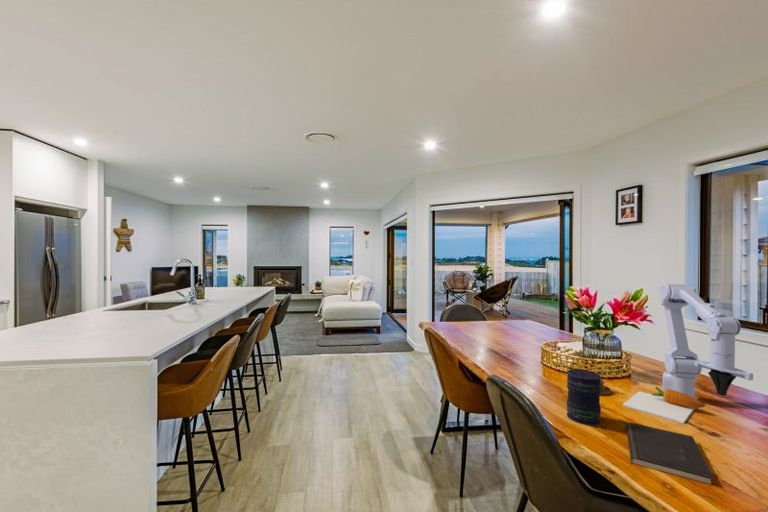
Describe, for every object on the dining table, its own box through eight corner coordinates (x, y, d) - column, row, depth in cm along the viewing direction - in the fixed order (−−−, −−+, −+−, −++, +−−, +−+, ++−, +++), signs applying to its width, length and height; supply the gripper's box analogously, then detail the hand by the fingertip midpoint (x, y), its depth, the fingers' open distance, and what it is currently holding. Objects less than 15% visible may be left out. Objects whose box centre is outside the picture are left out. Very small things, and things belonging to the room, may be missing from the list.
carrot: (707, 399, 122) (655, 385, 134) (704, 397, 120) (651, 383, 132) (705, 414, 121) (653, 398, 133) (702, 412, 119) (649, 396, 131)
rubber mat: (622, 405, 126) (622, 404, 126) (639, 392, 139) (639, 391, 139) (683, 423, 113) (683, 422, 113) (695, 407, 126) (695, 405, 126)
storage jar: (600, 416, 118) (601, 363, 118) (601, 428, 109) (601, 371, 109) (567, 409, 123) (567, 358, 123) (565, 420, 114) (566, 366, 114)
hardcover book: (692, 444, 102) (692, 436, 102) (713, 487, 82) (713, 478, 82) (626, 428, 110) (626, 421, 110) (630, 465, 91) (631, 456, 91)
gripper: (759, 358, 109) (758, 401, 109) (703, 346, 123) (703, 385, 123) (745, 360, 107) (745, 404, 107) (690, 348, 120) (690, 387, 120)
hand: (721, 394), depth 115 cm, fingers closed
